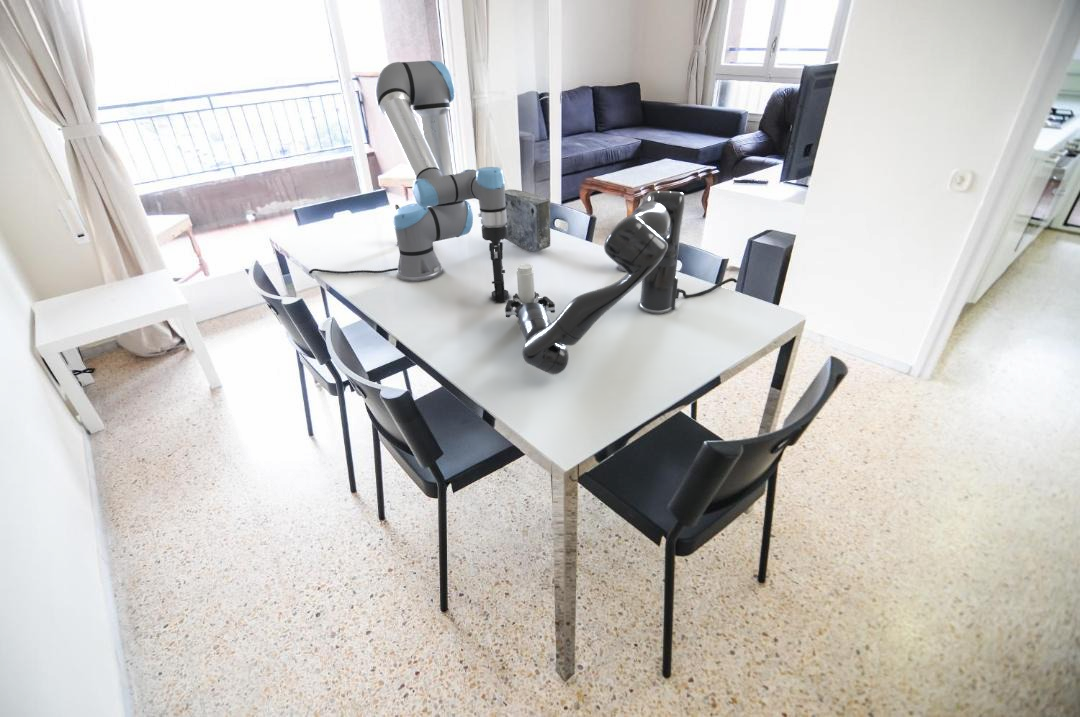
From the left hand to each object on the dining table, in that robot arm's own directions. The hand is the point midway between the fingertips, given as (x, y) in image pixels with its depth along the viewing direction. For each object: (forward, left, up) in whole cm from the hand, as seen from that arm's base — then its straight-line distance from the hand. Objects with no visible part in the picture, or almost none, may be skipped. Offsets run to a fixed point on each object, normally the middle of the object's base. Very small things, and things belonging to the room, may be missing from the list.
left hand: (500, 297), depth 156 cm
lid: (0, 0, +1) cm, 1 cm away
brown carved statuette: (-59, +40, 0) cm, 71 cm away
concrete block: (-10, +47, 0) cm, 48 cm away
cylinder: (+14, -12, 0) cm, 19 cm away
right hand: (+13, -10, +6) cm, 17 cm away
